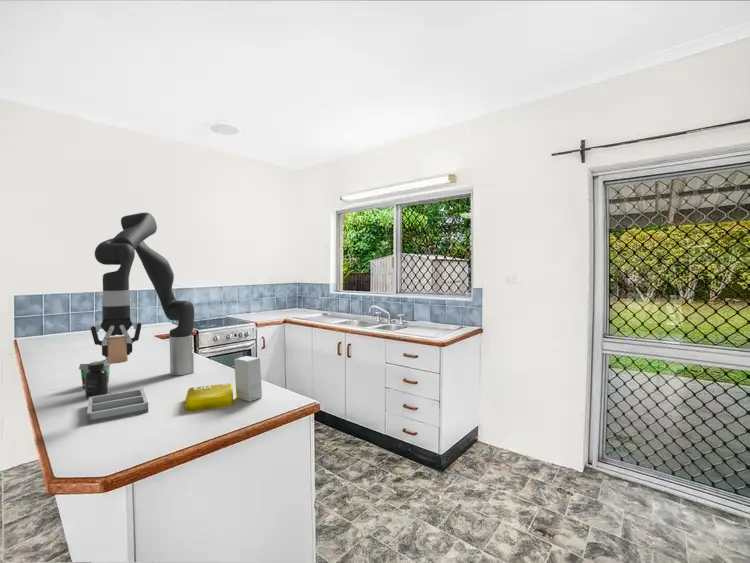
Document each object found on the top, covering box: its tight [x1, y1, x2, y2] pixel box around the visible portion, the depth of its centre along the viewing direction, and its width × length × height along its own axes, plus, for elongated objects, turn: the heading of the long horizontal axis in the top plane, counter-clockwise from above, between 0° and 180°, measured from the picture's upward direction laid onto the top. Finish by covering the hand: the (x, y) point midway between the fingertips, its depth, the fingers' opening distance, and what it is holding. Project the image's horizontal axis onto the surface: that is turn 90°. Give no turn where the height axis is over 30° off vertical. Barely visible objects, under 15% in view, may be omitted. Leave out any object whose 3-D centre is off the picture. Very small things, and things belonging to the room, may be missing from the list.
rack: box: [86, 388, 149, 425], centre depth 125 cm, size 16×19×3 cm
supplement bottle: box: [84, 362, 109, 399], centre depth 139 cm, size 7×7×12 cm
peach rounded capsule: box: [106, 335, 129, 365], centre depth 121 cm, size 6×6×8 cm
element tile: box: [184, 383, 234, 412], centre depth 132 cm, size 15×15×5 cm
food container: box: [78, 357, 112, 389], centre depth 152 cm, size 12×6×10 cm, turn 168°
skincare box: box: [233, 355, 263, 402], centre depth 136 cm, size 8×6×15 cm
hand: (117, 355), depth 121 cm, fingers closed on peach rounded capsule, 5 cm apart
